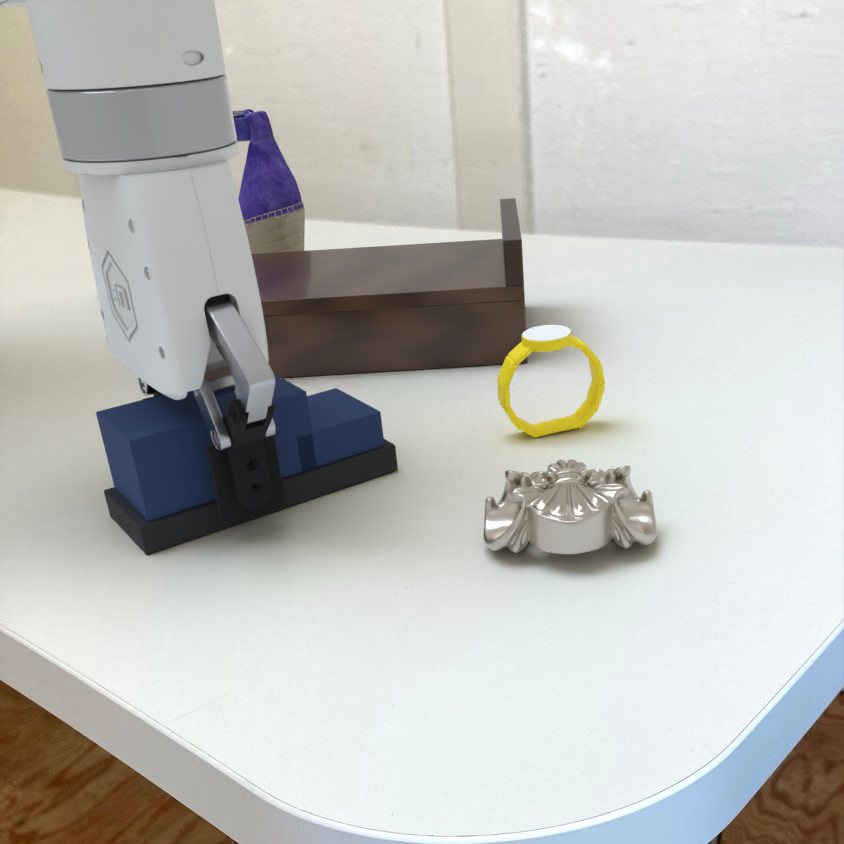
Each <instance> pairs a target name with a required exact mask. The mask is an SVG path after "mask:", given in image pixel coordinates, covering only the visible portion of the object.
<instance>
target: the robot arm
mask: <svg viewBox="0 0 844 844" xmlns="http://www.w3.org/2000/svg"><path fill="white" fill-rule="evenodd" d="M24 6H26V10H27V15H28V20H29V24H30V29H31V32H32V36H33V41H34V45H35V50H36V54H37V59H38V63H39V64H40V69H41V75H42V79H43V84H44V85H45V89H47V90H46V91H45V93H46V97H47V100H48V105H49V110H50V113H51V118H52V122H53V126H54V130H55V134H56V138H57V143H58V147H59V151H60V155H61V159H62V164H63V169H64V171H65V172H66V173H69V174H71V175H78V181H79V193H80V200H81V208H82V215H83V222H84V229H85V235H86V240H87V247H88V251H89V256H90V262H91V267H92V273H93V278H94V283H95V289H96V294H97V299H98V304H99V310H100V314H101V319H102V324H103V329H104V334H105V339H106V343H107V347H108V350H109V352H110V354H111V355H112V357H113V358H114V360H115V361H116V362H117V363H119V364H120V366H122V367H124V368H125V369H126V370H127V371H129V372H130V373H131V374H133V375H135V376H136V377H137V383H138V387H139V389H140V392H141V393H142V395H143V396H144V397H145V398H142V399H141V400H143V399H147V398H151V397H155V396H159V395H163V394H164V395H165V396H167V397H169V398H171V399H174V400H180V399H184V398H186V396H187V392H189V391H193V394H194V396H195V399H196V401H197V404H198V406H199V409H200V412H201V414H202V417H203V419H204V422H205V425H206V427H207V430H208V432H209V435H210V437H211V440H212V443H213V445H210V446H207V447H205V449H206V454H207V459H208V464H209V468H210V473H211V478H212V483H213V488H214V493H215V498H216V503H217V508H218V513H219V517H220V519H221V520H222V521H223V522H225V523H226V524H228V525H232V524H236V523H239V522H241V521H244V520H247V519H250V518H253V517H256V516H259V515H262V514H265V513H268V512H271V511H274V510H277V509H280V508H281V507H282V506H283V505H284V503H285V497H284V491H283V485H282V479H281V474H280V468H279V462H278V456H277V450H276V444H275V438H274V435H275V434H276V427H275V423H274V420H273V415H274V410H275V406H273V404H272V402H273V394H274V389H275V376H274V373H273V371H272V369H271V367H270V366H269V357H268V345H267V336H266V329H265V322H264V316H263V310H262V304H261V299H260V294H259V288H258V283H257V279H256V274H255V269H254V264H253V260H252V255H251V251H250V246H249V242H248V237H247V233H246V229H245V225H244V220H243V216H242V212H241V208H240V204H239V200H238V197H239V196H238V193H237V189H236V184H235V182H234V179H233V174H232V170H231V167H230V163H229V161H228V160H231V159H233V158H235V157H237V156H239V154H240V148H239V142H238V141H237V136H236V130H235V124H234V118H233V112H232V111H233V107H232V100H231V95H230V88H229V83H228V77H227V75H226V74H227V73H226V72H227V71H226V65H225V59H224V52H223V47H222V41H221V34H220V28H219V27H220V26H219V23H218V21H219V20H218V17H217V9H216V4H215V0H0V8H7V7H8V8H10V7H24ZM226 366H228V368H229V370H230V372H231V373H232V374H228V375H224V376H221V377H217V378H213V379H209V380H205V379H204V374H205V372H207V371H211V370H215V369H218V368H222V367H226ZM233 391H235V394H236V396H237V398H236V399H235V400H232V401H229V403H228V406H227V409H226V412H225V415H224V419H223V416H222V413H221V411H220V408H219V406H218V403H217V401H216V398H215V396H218V395H222V394H226V393H230V392H233ZM239 524H240V523H239ZM236 525H237V524H236Z"/></svg>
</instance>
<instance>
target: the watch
mask: <svg viewBox="0 0 844 844" xmlns="http://www.w3.org/2000/svg"><path fill="white" fill-rule="evenodd" d="M521 337H522V342H520V343H519V344H518V345H517V346H516V347H515V348H514V349H513V350H512V351H510V352H509V353H508V356H506V358H505V360H504V363H503V364H501V365H502V366H501V367H500V370H499V373H498V374H497V380H496V382H497V383H496V384H497V398H498V401H499V405H500V406H501V408H502V409H503V411H504V412H505V415H506V416H507V417H508V419H509V420H510V421H511V423H512V424H513V426H514V427H515V428H516V429H517V430H519V431H521V432H522V433H525V434H527V435H529V436H530V437H532V438H534V439H536V438H538V437H545V436H547V435H552V434H556V433H560V432H564V431H565V432H567V431H570V430H574V429H578V428H579V429H582V428H583V427H585V426H586V425H587V423H588V422H589V421H590V420H591V419H592V417H593V416H594V415H595V414H596V413H597V412H598V409H599V408H600V406H601V403H602V399H603V396H604V391H605V389H606V386H605V385H606V381H605V375H604V370H603V364H602V363H601V360H600V359H599V357H598V356H597V355H596V354H595V353H594V352H593V350H592V348H590V347H589V345H587V344H586V343H585V342H584V341H583V340H582V339H580V338H579V337H577V336H574V335H572V330H571V328H570V327H568V326H565V325H562V324H544V325H537V326H533V327H530V328H528V329H527V328H526V331H524V332H523V334H522V336H521ZM568 347H572V348H574V349H578V350H580V351H581V352H582V354H583V355H584V356H585V357H586V358H587V360H588V364H589V365H588V366H589V370H590V375H591V381H590V385H589V389H588V392H587V395H586V399H585V400H584V401H583V402H582V403H581V405H580V406H579V407H578V408H577V410H575V412H574V413H573V414H572V415H568V416H564V417H559V418H555V419H551V420H547V421H543V422H538V423H535V424H531V423H529V422H528V421H526V420H524V419H522V418H521V417H518V416H517V415H516V413H515V411H514V409H513V408H512V407H511V394H510V384H511V383H512V380H513V378H514V376H515V373H516V371H517V368H518V366H519V365H520V364H522V363H521V362H522V361H523V360H524V359H525V358H526V357H527V356H530V355H531V354H532V353H533V352H535V353H550V352H555V351H560V350H563V349H565V348H568Z"/></svg>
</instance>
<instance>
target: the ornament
mask: <svg viewBox="0 0 844 844" xmlns="http://www.w3.org/2000/svg"><path fill="white" fill-rule="evenodd" d="M546 470H547V471H543V470H542V471H534V472H533V471H532V472H531V474H529V473H528V472H526V471H525V472H524V471H521V472H519V471H515V470H505V471H504V478H505V485H504V489H503V491H502V495H501V497H500V500H499V501H498V502H497V501H496V499H495V498H494V497H493V496H488V497H486V499H485V500H484V502H485V503H484V519H483V537H482V538H483V542H484V544H485V546H486V547H487V548H488V549H489V550H490V551H492V552H498V551H500V550H501V549H503V548H508V551H510V552H512V553H514V554H516V553H520V552H521V551H523V550H524V549H525V548H526V547H527V545H528V544H529V545H530V546H532V547H533V548H535V549H537V550H539V551H542V552H546V553H551V554H557V555H558V554H559V555H578V554H579V555H580V554H585V553H586V554H587V553H590V552H594V551H597V550H600V549H602V548H605V547H606V546H608V545H609V544H610V543H611V542H614V543H615V544H616V545H618V546H619V547H620V548H622V549H624V550H625V549H626V550H628V549H629V548H631V547H632V546H633V544H634V543H639V544H641V545H643V546H650V545H651V544H653V543H654V541H655V540H656V539H657V536H658V527H657V520H656V513H655V507H654V498H653V492H652V491H650V490H643V491H642V493H641V495H640V496H638V494H637V492H636V490H635V488H634V486H633V484H632V483H633V482H632V480H631V476H630V475H631V473H632V469H631V465H624V466H619V467H616V468H609V469H607V470H603V469H601V468H600V469H597V468H596V469H587V465H586V463H584V462H582V461H579V462H578V461H577V460H575V459H574V458H572V459H568V460H567V461H566V460H565V459H559V460H557V461H556V463H554V462H553V463H552V462H551V463H550V464H549V465H548V466H547V469H546Z"/></svg>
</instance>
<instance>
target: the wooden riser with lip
mask: <svg viewBox="0 0 844 844" xmlns="http://www.w3.org/2000/svg"><path fill="white" fill-rule="evenodd" d="M499 206H500V224H501V226H500V227H501V238H491V239H476V240H461V241H443V242H425V243H410V244H393V245H377V246H376V245H375V246H361V247H343V248H327V249H312V250H304V251H293V252H277V253H260V254H251V255H252V260H253V264H254V269H255V274H256V279H257V283H258V288H259V294H260V299H261V304H262V310H263V316H264V322H265V329H266V336H267V345H268V357H269V366H270V367H271V369H272V371H273V373H274V374H276V375H278V376H279V377H281V378H283V379H284V378H298V377H315V376H331V375H332V376H333V375H347V374H348V375H350V374H364V373H366V374H367V373H380V372H381V373H382V372H397V371H399V372H400V371H413V370H415V371H417V370H430V369H446V368H449V369H450V368H463V367H481V366H497V365H498V366H499V365H503V363H504V360H505V358H506V356H508V353H509V352H510V351H512V350H513V349H514V348H515V347H516V346H517V345H518V344H519V343H520V342H522V337H521V336H522V334H523V332H524V331H526V330H527V317H526V316H527V315H526V295H525V276H524V256H523V255H524V253H523V238H522V233H521V226H520V225H521V224H520V220H519V212H518V205H517V199H516V198H515V197H512V198H500V199H499ZM528 356H529V355H528ZM528 356H527V357H526V358H525V359H524V360H523V361H522V362H521V363H520V364H527V363H528V362H529V358H528ZM228 374H232V373H231V372H230V370H229V368H228V366H226V367H222V368H218V369H215V370H211V371H207V372H205V374H204V379H205V380H209V379H213V378H217V377H221V376H224V375H228Z"/></svg>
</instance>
